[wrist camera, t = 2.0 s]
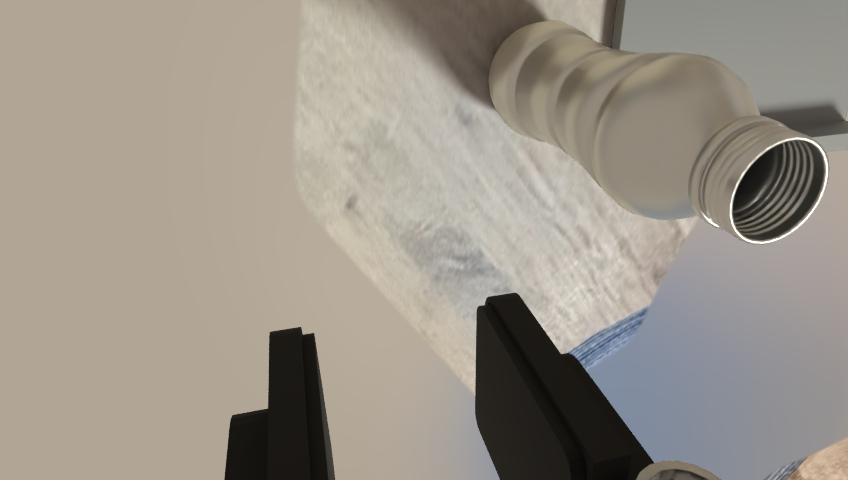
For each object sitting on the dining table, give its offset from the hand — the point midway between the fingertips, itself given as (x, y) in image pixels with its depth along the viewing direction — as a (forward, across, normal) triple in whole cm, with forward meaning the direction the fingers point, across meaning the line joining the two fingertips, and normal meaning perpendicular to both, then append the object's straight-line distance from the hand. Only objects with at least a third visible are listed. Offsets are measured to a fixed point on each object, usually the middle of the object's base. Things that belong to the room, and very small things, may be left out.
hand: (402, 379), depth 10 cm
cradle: (+25, -28, 0) cm, 38 cm away
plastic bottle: (+25, -13, 0) cm, 29 cm away
